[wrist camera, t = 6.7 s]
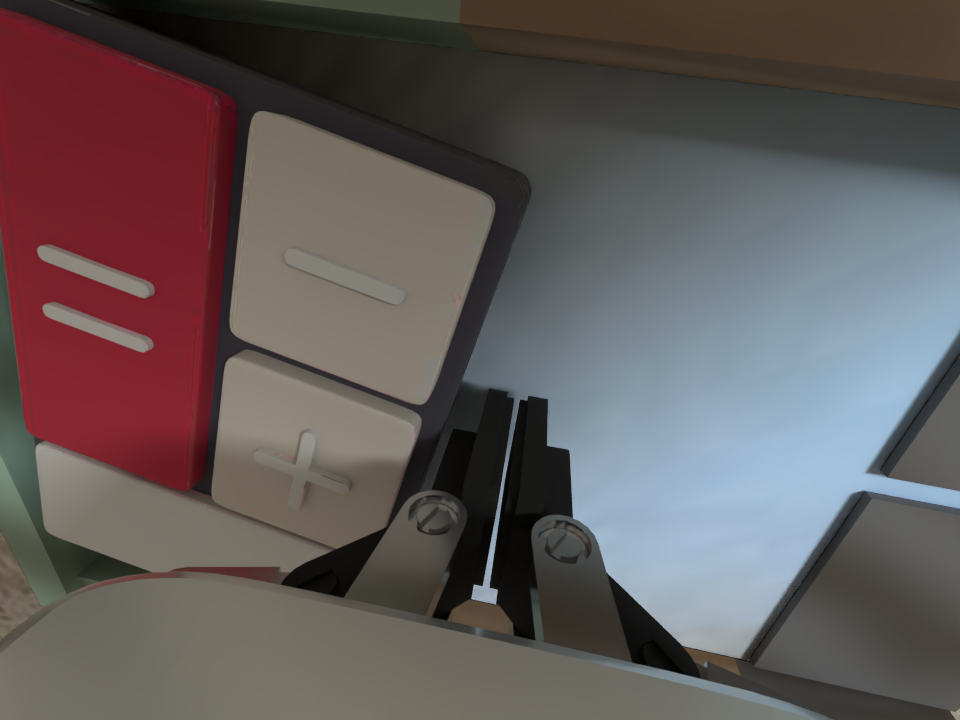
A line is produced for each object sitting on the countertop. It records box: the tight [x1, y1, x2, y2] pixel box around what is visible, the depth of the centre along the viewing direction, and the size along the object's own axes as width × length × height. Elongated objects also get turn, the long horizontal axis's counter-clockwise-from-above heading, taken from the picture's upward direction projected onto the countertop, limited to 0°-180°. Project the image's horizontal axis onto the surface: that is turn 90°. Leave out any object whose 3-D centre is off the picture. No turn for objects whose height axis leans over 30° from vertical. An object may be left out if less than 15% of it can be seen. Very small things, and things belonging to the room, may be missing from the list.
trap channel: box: [0, 0, 960, 720], centre depth 12 cm, size 21×34×3 cm, turn 83°
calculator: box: [0, 0, 531, 572], centre depth 13 cm, size 11×4×15 cm
